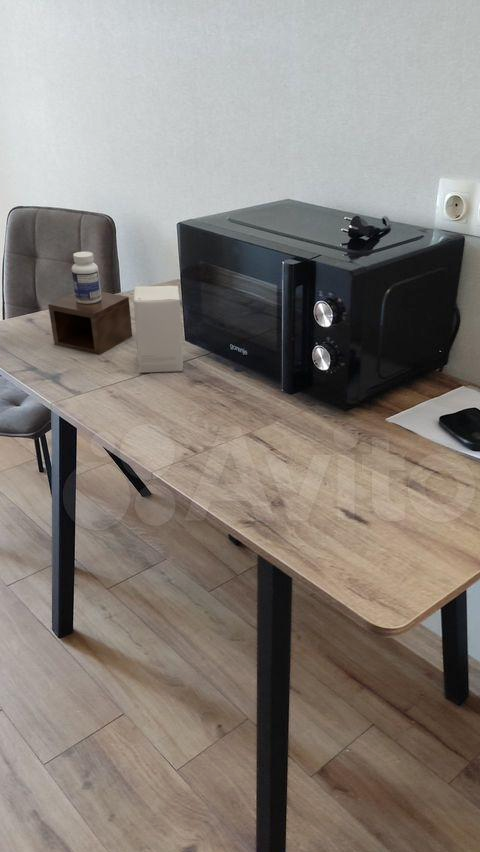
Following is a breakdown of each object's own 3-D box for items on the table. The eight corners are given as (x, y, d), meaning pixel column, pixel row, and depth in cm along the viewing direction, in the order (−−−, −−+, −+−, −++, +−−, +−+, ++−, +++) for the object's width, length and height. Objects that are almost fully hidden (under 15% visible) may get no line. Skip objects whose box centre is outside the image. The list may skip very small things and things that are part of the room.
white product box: (184, 372, 141) (180, 299, 133) (138, 373, 140) (132, 300, 132) (182, 354, 149) (178, 284, 141) (139, 356, 148) (133, 285, 140)
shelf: (99, 354, 148) (94, 313, 143) (54, 344, 152) (47, 304, 147) (132, 336, 157) (128, 296, 152) (88, 326, 161) (83, 288, 156)
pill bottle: (77, 296, 152) (71, 250, 146) (102, 296, 152) (97, 250, 147) (74, 304, 147) (67, 257, 142) (100, 304, 148) (94, 257, 142)
